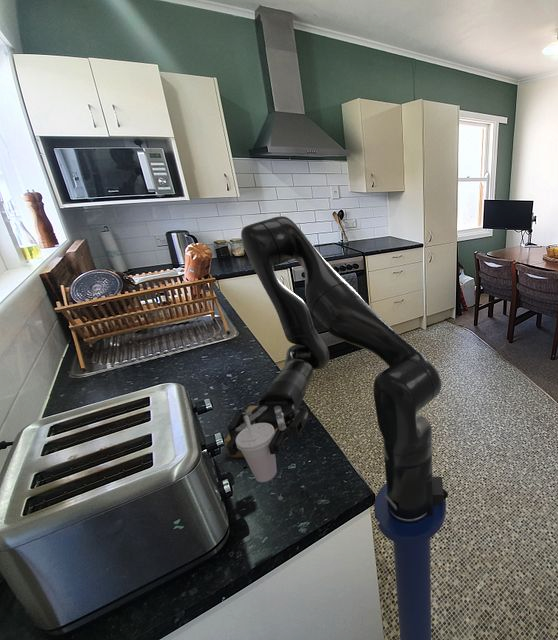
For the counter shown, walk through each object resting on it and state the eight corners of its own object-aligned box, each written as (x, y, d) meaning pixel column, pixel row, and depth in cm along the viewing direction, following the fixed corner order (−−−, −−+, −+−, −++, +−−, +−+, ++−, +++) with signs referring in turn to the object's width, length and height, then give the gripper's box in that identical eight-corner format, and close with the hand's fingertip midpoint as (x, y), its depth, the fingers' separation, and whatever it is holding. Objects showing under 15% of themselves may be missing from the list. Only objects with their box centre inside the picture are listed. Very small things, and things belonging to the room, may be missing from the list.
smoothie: (242, 474, 65) (223, 415, 60) (275, 455, 69) (261, 398, 64) (255, 494, 61) (236, 433, 56) (290, 473, 65) (275, 414, 60)
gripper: (248, 380, 74) (203, 435, 58) (316, 378, 74) (289, 433, 59) (256, 408, 77) (215, 468, 61) (321, 407, 77) (296, 466, 62)
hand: (251, 450), depth 60 cm, fingers closed on smoothie, 6 cm apart
